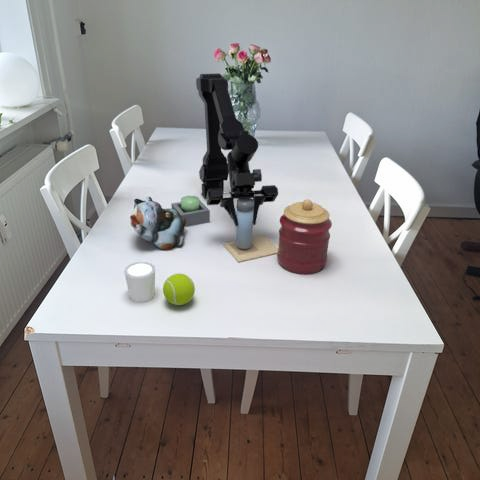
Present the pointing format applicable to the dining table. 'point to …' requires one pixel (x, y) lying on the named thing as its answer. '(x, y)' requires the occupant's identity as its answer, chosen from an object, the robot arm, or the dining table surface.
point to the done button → (189, 204)
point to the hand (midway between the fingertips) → (245, 225)
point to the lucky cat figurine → (157, 224)
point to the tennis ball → (178, 289)
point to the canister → (304, 237)
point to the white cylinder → (140, 281)
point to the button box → (194, 214)
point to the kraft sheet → (252, 249)
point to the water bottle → (244, 222)
